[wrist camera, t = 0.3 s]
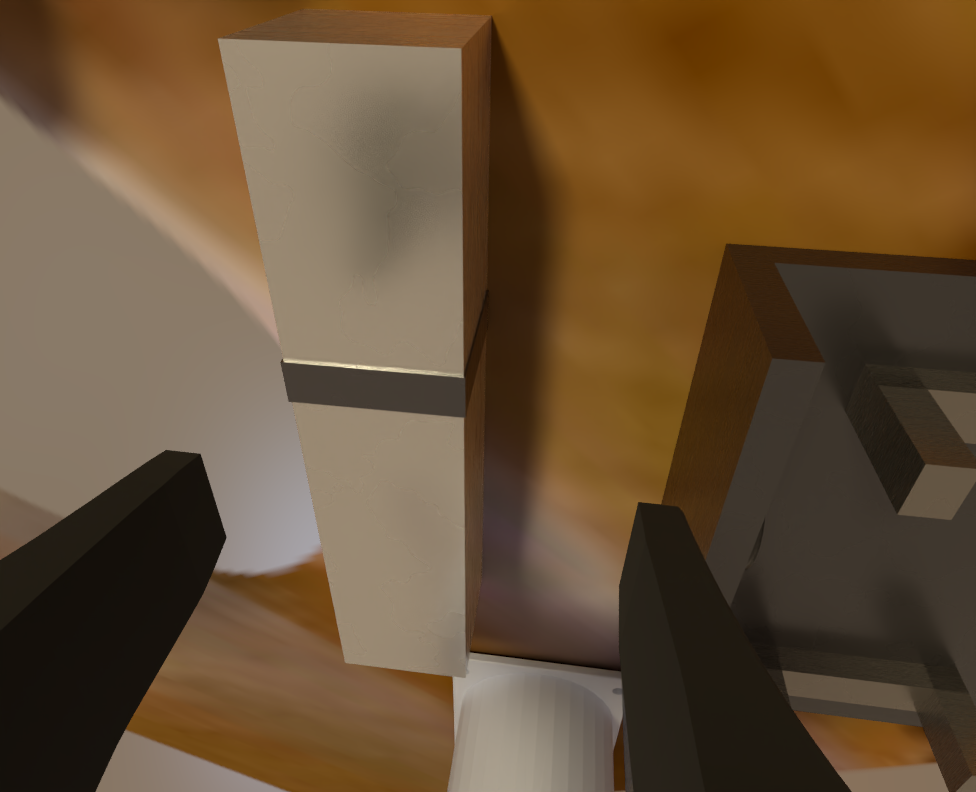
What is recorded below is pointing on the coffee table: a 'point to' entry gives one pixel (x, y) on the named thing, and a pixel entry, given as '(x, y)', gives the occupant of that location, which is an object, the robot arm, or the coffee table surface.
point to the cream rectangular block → (379, 303)
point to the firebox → (843, 482)
